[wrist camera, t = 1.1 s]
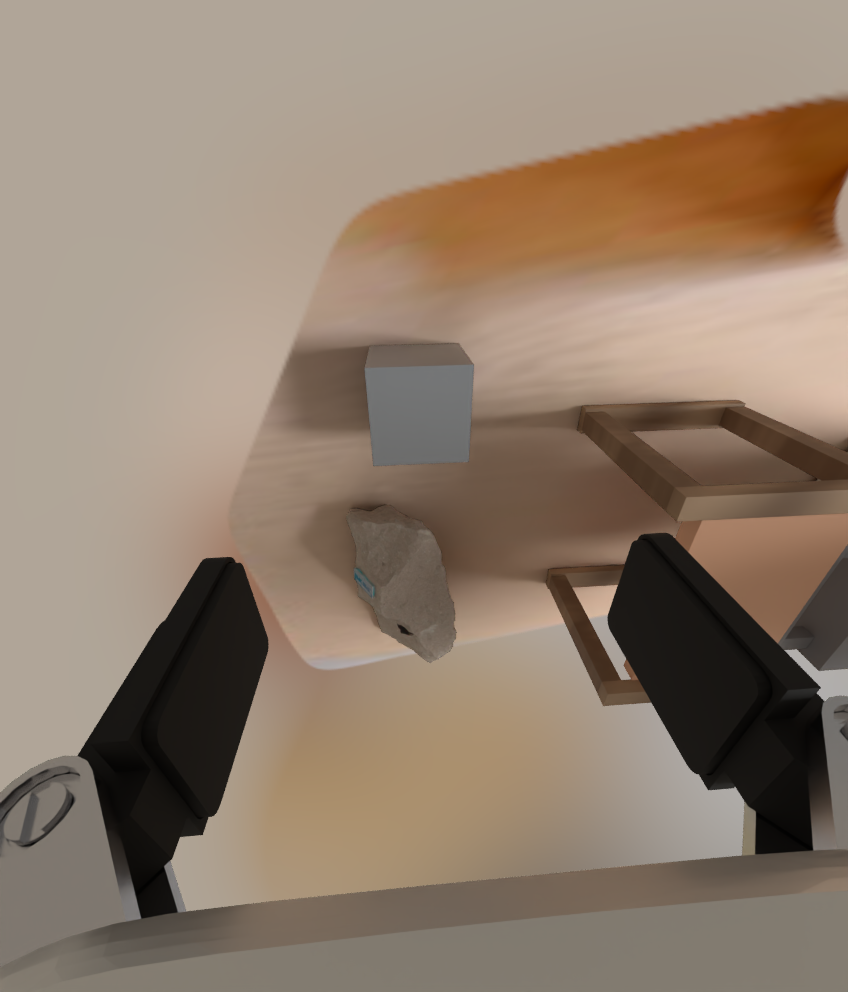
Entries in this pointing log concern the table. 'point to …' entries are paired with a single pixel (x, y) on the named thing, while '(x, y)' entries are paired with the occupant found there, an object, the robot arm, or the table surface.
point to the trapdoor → (782, 577)
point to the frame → (691, 499)
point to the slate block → (419, 403)
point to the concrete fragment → (403, 579)
